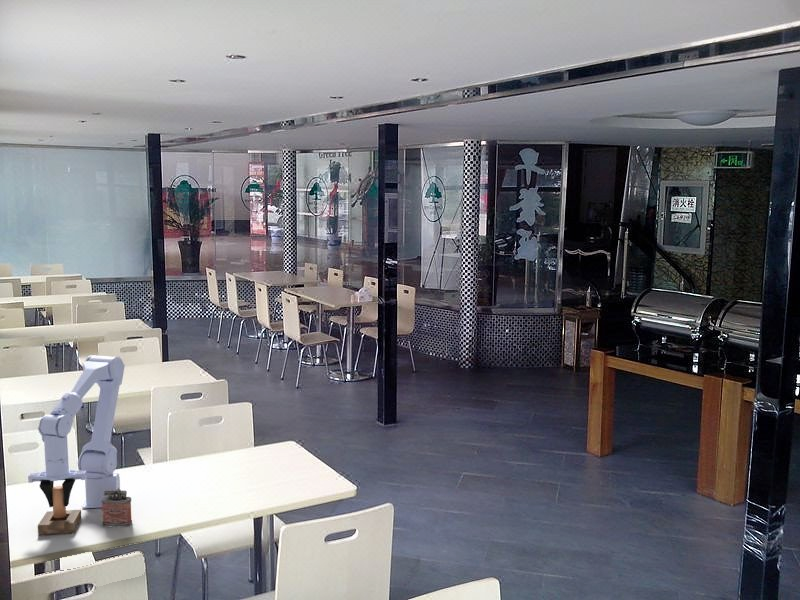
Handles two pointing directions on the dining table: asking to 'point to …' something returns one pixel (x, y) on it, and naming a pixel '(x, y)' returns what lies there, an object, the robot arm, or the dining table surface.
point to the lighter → (116, 508)
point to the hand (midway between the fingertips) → (59, 505)
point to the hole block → (59, 523)
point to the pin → (58, 502)
